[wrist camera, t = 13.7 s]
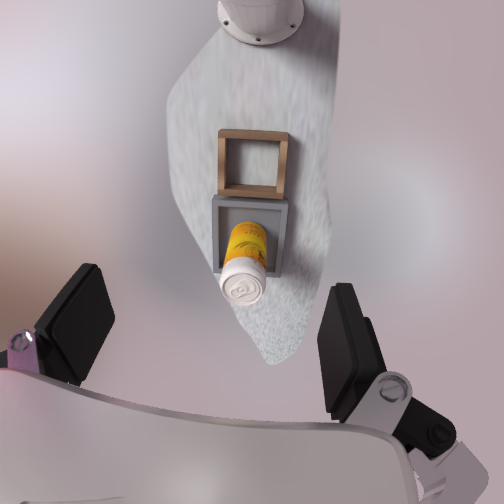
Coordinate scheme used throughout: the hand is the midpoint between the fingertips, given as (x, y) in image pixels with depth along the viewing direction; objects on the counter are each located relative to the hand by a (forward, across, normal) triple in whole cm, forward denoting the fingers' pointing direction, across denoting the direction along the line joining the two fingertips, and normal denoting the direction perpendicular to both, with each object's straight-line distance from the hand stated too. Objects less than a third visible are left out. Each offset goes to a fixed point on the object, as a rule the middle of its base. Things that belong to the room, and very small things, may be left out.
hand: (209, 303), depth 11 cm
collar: (+36, 0, +3) cm, 36 cm away
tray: (+36, 0, +16) cm, 40 cm away
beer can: (+36, 0, +16) cm, 39 cm away
